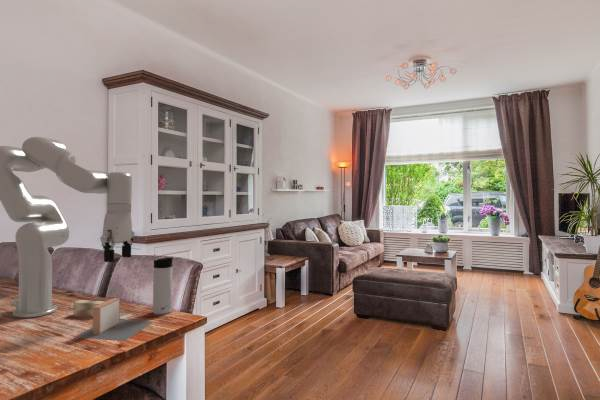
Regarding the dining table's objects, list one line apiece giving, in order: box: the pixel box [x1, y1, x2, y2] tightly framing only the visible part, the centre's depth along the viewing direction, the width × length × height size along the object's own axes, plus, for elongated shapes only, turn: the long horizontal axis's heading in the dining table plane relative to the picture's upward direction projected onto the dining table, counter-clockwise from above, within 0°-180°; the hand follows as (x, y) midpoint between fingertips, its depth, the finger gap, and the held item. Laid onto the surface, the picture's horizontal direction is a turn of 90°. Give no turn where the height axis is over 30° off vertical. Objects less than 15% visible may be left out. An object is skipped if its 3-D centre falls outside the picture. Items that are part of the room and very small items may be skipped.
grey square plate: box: [73, 319, 154, 342], centre depth 115 cm, size 16×16×1 cm
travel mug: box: [152, 256, 174, 316], centre depth 132 cm, size 6×7×20 cm
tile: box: [92, 297, 121, 335], centre depth 116 cm, size 2×10×8 cm, turn 173°
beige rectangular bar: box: [72, 299, 133, 320], centre depth 128 cm, size 19×5×5 cm, turn 83°
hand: (118, 259), depth 127 cm, fingers open, 9 cm apart
